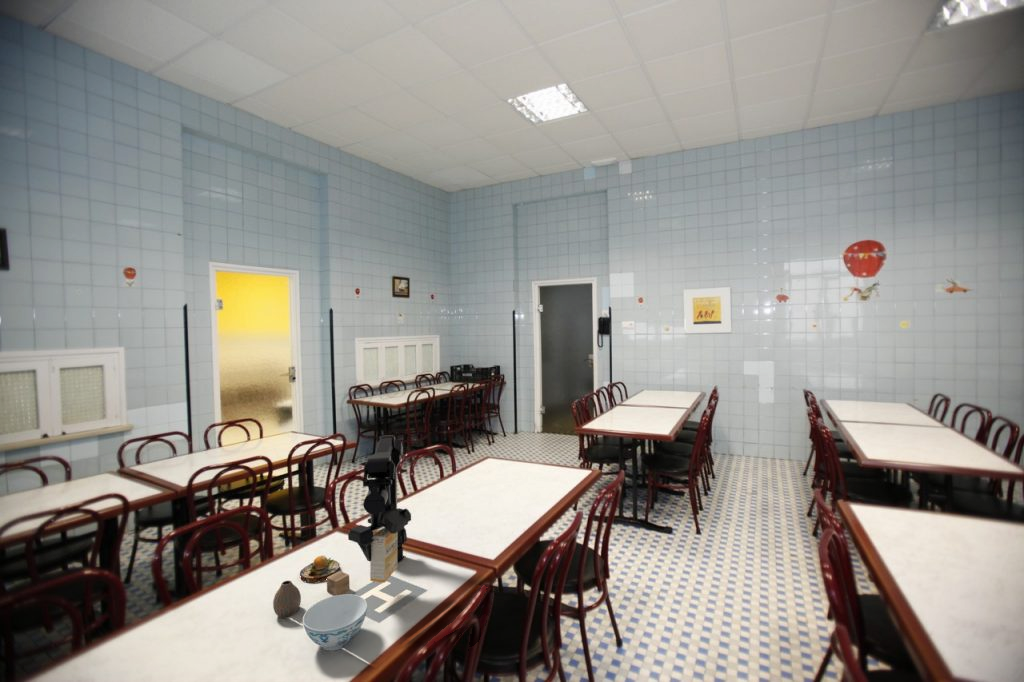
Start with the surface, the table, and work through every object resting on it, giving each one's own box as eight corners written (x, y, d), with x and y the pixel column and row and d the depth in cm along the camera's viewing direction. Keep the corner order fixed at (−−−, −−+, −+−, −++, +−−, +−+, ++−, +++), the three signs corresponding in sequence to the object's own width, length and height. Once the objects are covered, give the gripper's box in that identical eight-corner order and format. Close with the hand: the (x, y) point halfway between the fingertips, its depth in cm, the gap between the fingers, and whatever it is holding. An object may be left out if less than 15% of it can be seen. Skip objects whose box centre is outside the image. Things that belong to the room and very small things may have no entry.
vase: (306, 608, 131) (305, 578, 130) (287, 623, 124) (286, 591, 124) (287, 604, 133) (286, 574, 133) (267, 619, 126) (266, 587, 126)
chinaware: (306, 671, 106) (304, 638, 106) (302, 634, 119) (301, 604, 119) (373, 649, 113) (372, 617, 113) (362, 616, 126) (361, 588, 126)
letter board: (336, 604, 132) (336, 602, 132) (386, 575, 147) (386, 573, 147) (379, 625, 122) (379, 622, 122) (427, 592, 137) (427, 590, 137)
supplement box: (385, 583, 130) (385, 538, 129) (369, 581, 131) (369, 536, 130) (398, 567, 138) (398, 524, 137) (383, 566, 139) (383, 523, 138)
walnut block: (327, 594, 138) (326, 577, 138) (340, 587, 142) (339, 570, 141) (336, 598, 135) (335, 581, 135) (349, 591, 139) (349, 574, 139)
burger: (340, 562, 158) (340, 540, 157) (339, 579, 146) (338, 556, 146) (302, 568, 154) (301, 546, 154) (297, 587, 143) (296, 563, 143)
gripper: (372, 517, 122) (374, 576, 122) (423, 495, 137) (425, 547, 138) (346, 509, 128) (348, 565, 129) (397, 489, 144) (399, 539, 144)
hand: (382, 554), depth 135 cm, fingers closed on supplement box, 9 cm apart
